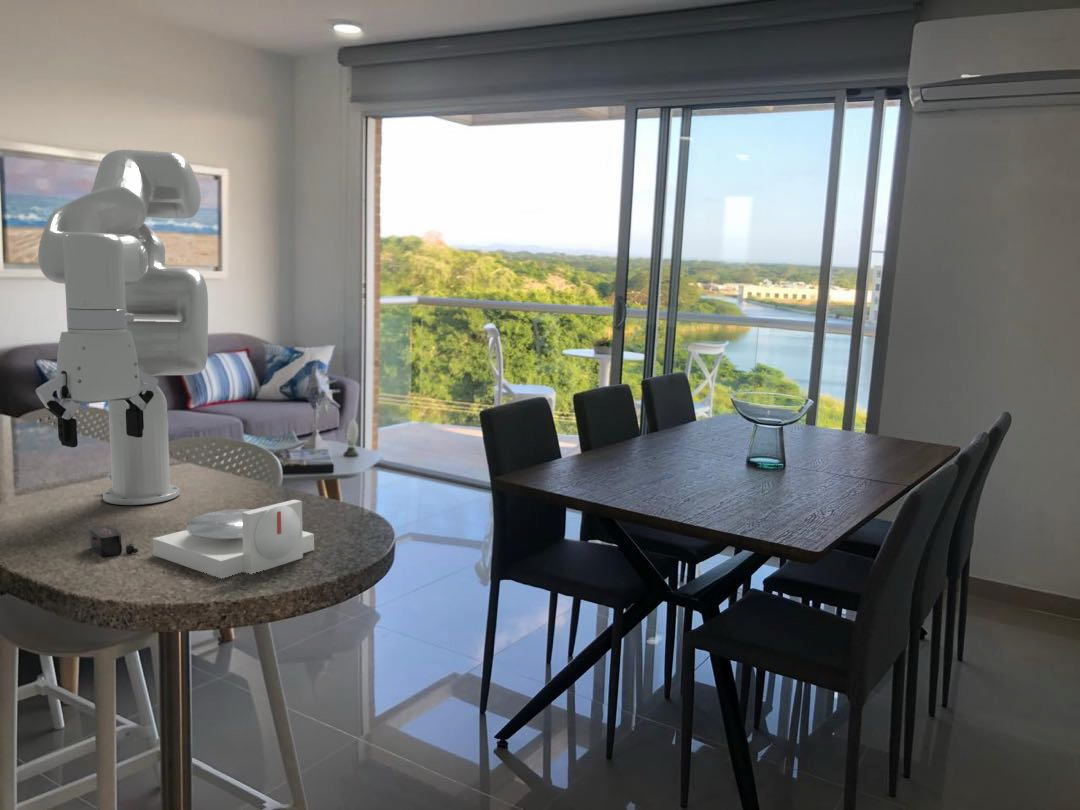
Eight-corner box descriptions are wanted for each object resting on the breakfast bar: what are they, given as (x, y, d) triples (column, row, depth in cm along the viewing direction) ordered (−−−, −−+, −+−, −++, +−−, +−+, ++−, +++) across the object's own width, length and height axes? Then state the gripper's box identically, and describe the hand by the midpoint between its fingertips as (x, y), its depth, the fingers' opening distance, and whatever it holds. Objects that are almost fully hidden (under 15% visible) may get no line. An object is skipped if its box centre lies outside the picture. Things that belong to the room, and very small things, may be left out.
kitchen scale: (153, 555, 127) (150, 496, 126) (246, 530, 140) (244, 476, 139) (231, 582, 117) (230, 518, 115) (324, 552, 130) (323, 495, 128)
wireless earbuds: (104, 561, 124) (103, 539, 124) (89, 549, 130) (88, 528, 129) (138, 555, 127) (137, 533, 127) (122, 543, 133) (121, 522, 132)
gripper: (139, 318, 133) (144, 430, 135) (19, 322, 118) (27, 446, 121) (168, 321, 128) (173, 436, 131) (48, 325, 114) (55, 453, 117)
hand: (103, 441), depth 126 cm, fingers open, 9 cm apart
